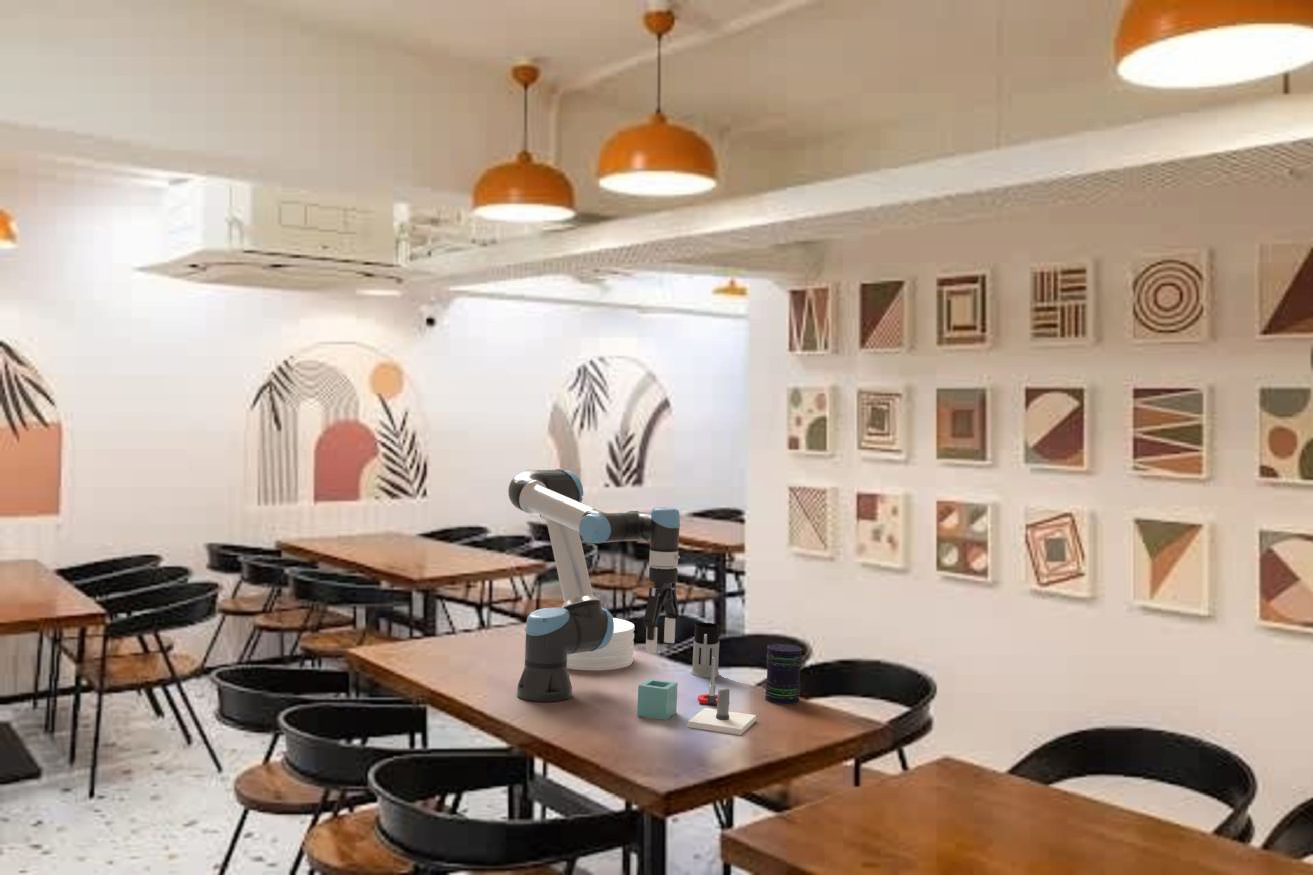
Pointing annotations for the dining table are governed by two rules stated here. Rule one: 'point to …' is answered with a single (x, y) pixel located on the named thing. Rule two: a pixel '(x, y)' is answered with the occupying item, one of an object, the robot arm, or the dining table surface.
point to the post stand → (722, 717)
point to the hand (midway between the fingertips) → (660, 647)
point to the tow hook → (710, 689)
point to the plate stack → (608, 651)
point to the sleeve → (657, 699)
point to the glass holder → (705, 649)
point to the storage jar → (783, 674)
